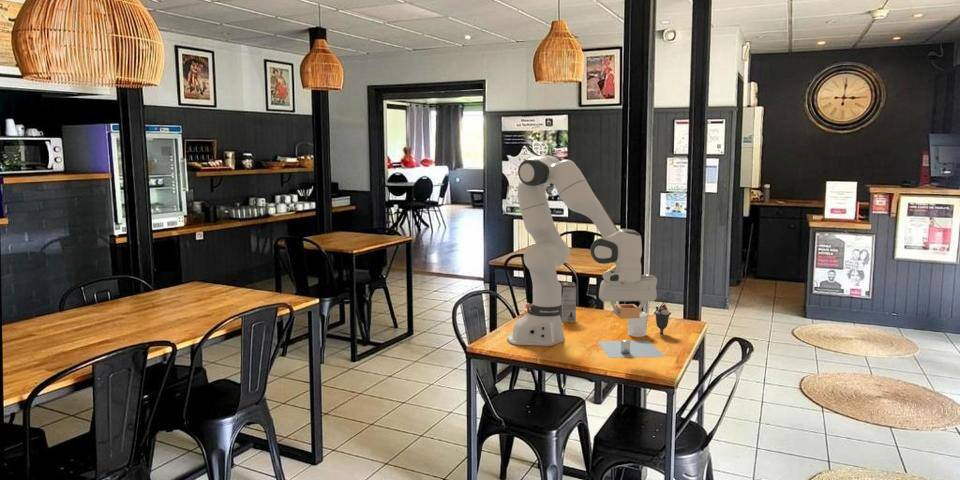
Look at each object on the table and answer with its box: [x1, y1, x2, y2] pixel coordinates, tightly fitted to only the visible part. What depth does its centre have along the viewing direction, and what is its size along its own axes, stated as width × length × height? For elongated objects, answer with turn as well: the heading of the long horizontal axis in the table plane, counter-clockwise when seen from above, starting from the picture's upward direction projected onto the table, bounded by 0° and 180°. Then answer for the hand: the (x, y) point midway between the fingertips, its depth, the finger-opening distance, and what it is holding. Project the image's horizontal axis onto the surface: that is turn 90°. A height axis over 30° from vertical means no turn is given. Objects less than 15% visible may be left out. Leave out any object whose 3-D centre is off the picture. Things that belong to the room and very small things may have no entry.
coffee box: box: [559, 281, 577, 323], centre depth 291 cm, size 9×6×16 cm
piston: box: [620, 339, 631, 354], centre depth 237 cm, size 3×3×4 cm
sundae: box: [653, 301, 672, 336], centre depth 262 cm, size 7×7×15 cm
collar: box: [615, 303, 640, 320], centre depth 236 cm, size 7×7×4 cm
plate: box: [596, 340, 666, 359], centre depth 243 cm, size 20×20×2 cm
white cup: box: [626, 311, 649, 338], centre depth 262 cm, size 8×8×10 cm
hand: (627, 313), depth 236 cm, fingers closed on collar, 7 cm apart
